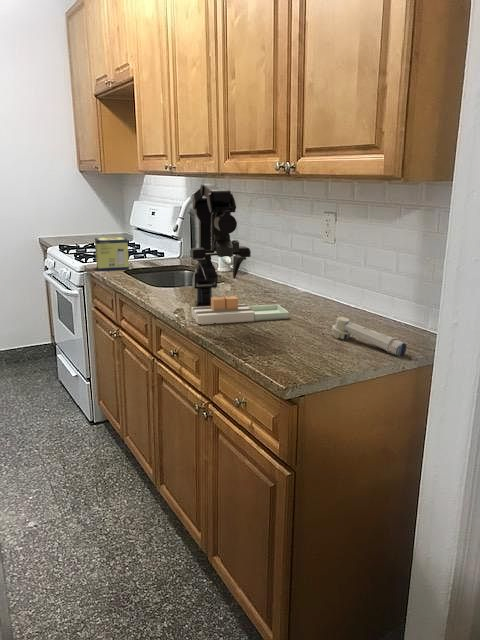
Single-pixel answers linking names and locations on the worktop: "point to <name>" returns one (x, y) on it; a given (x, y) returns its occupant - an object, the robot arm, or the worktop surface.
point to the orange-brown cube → (217, 303)
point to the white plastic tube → (368, 336)
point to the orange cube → (231, 302)
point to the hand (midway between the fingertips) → (220, 279)
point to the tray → (269, 312)
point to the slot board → (222, 315)
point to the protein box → (112, 254)
